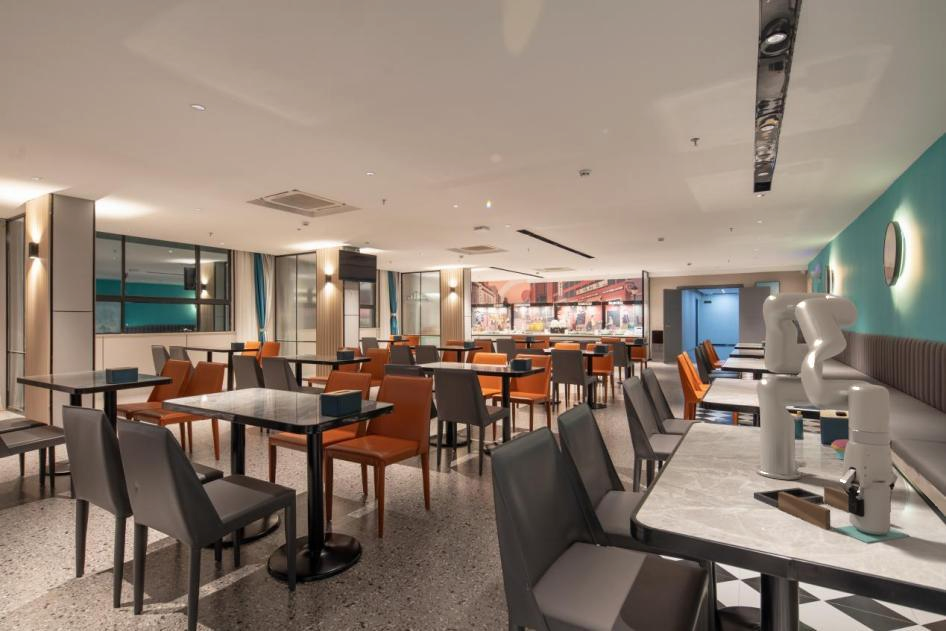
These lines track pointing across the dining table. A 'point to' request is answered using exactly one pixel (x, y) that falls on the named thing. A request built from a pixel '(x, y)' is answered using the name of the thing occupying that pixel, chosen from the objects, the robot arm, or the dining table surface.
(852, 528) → the pad
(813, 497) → the tray
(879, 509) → the can
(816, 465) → the dining table surface
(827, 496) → the wooden corridor walls
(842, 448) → the cupcake
